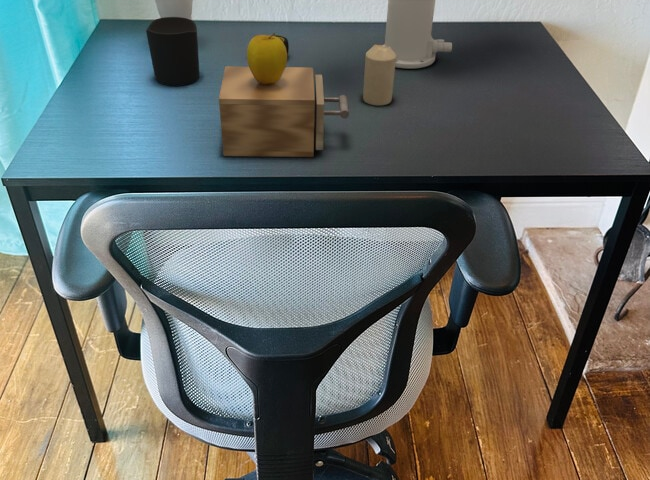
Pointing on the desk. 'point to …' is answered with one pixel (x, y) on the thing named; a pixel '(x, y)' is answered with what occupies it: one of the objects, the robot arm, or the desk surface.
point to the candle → (379, 75)
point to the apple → (266, 58)
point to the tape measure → (284, 42)
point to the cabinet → (267, 113)
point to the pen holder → (174, 50)
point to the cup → (175, 8)
